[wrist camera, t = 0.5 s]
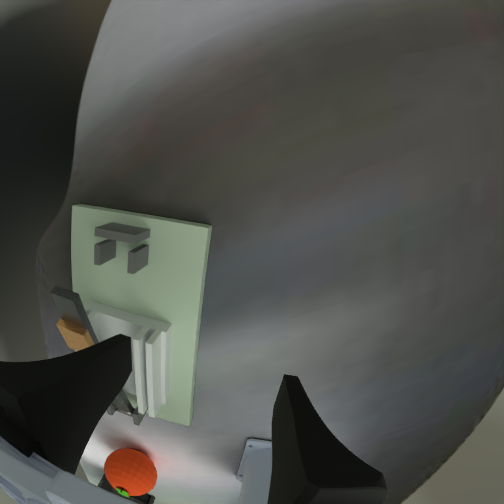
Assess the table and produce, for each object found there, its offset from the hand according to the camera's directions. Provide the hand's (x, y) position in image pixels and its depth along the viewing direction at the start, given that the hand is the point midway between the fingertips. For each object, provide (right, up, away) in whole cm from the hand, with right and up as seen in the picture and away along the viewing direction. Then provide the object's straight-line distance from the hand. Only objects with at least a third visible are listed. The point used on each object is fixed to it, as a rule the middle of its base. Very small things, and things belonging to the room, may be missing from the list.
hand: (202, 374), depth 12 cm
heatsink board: (-8, -1, +12) cm, 14 cm away
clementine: (-13, -22, +17) cm, 31 cm away
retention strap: (-9, -3, +6) cm, 11 cm away
